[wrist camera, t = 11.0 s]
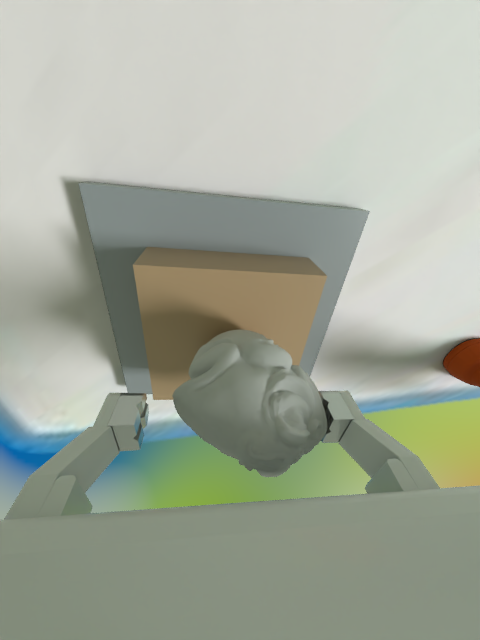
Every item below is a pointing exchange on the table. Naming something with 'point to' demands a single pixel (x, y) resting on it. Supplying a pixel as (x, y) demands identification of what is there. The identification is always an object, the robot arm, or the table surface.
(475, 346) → the toy drill
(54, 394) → the table surface
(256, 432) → the grey lumpy sculpture
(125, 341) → the baseplate
